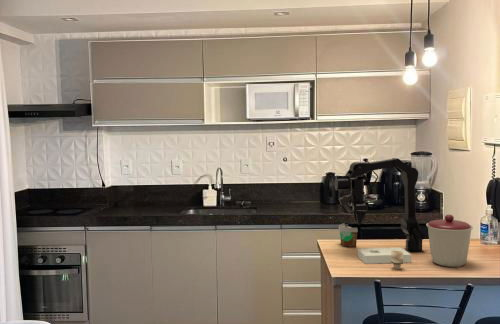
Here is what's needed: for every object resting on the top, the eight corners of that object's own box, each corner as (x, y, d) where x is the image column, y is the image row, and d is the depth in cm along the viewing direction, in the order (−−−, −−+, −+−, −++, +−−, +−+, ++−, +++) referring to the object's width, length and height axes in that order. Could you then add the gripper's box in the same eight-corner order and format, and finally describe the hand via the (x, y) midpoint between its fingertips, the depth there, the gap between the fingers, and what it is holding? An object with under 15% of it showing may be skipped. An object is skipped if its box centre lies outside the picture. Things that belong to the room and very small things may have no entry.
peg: (400, 266, 188) (400, 250, 187) (404, 270, 183) (404, 253, 183) (389, 267, 188) (389, 250, 187) (393, 270, 183) (393, 253, 183)
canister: (444, 271, 180) (444, 220, 179) (417, 259, 198) (417, 212, 196) (482, 267, 184) (483, 217, 183) (452, 256, 202) (453, 210, 201)
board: (401, 255, 206) (401, 247, 205) (411, 262, 194) (411, 254, 193) (357, 256, 205) (357, 248, 205) (365, 263, 193) (365, 255, 193)
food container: (333, 243, 229) (333, 224, 228) (344, 242, 231) (344, 223, 230) (347, 249, 217) (347, 229, 217) (357, 248, 219) (357, 227, 219)
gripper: (337, 187, 218) (337, 218, 219) (342, 192, 200) (342, 227, 201) (360, 186, 217) (360, 218, 219) (367, 192, 199) (368, 226, 200)
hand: (357, 222), depth 209 cm, fingers open, 9 cm apart
